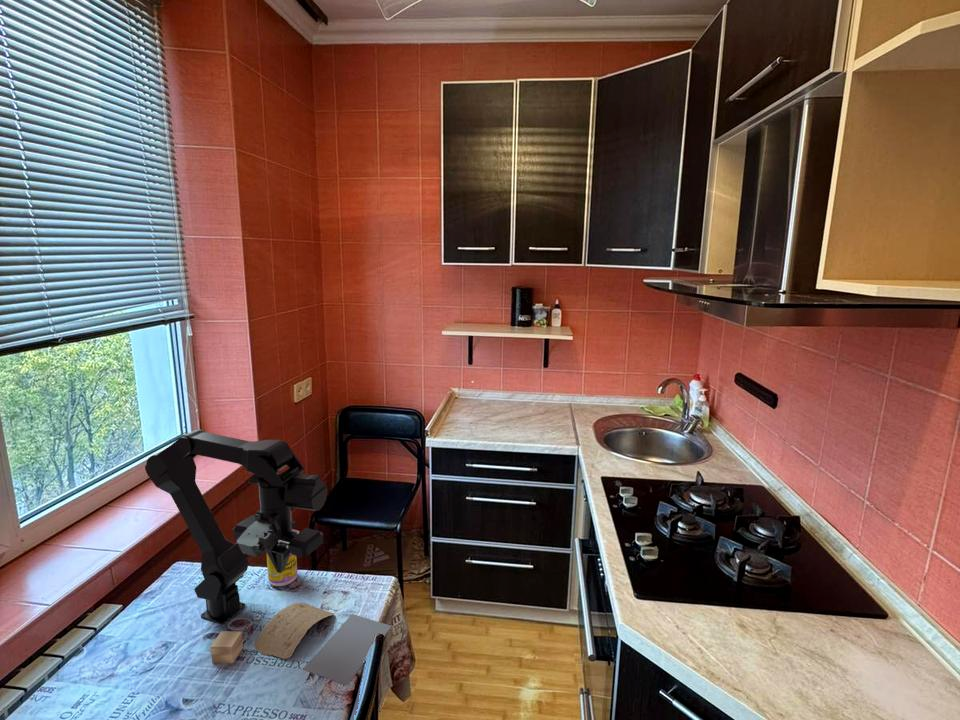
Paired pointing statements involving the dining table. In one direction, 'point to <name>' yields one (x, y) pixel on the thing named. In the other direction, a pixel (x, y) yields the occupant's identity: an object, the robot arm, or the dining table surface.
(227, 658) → the oak block
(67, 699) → the dining table surface
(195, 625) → the dining table surface
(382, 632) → the slate mat
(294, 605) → the clay tablet
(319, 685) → the dining table surface
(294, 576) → the supplement bottle
